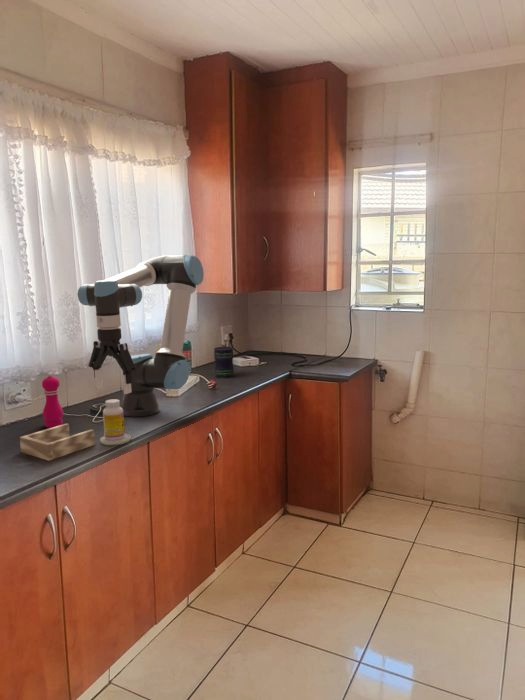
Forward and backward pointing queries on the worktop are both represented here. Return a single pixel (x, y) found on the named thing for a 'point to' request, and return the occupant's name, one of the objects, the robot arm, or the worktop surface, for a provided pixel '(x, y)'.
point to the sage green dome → (115, 442)
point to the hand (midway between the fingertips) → (113, 390)
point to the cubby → (55, 442)
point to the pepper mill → (52, 402)
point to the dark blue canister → (223, 362)
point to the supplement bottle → (113, 420)
